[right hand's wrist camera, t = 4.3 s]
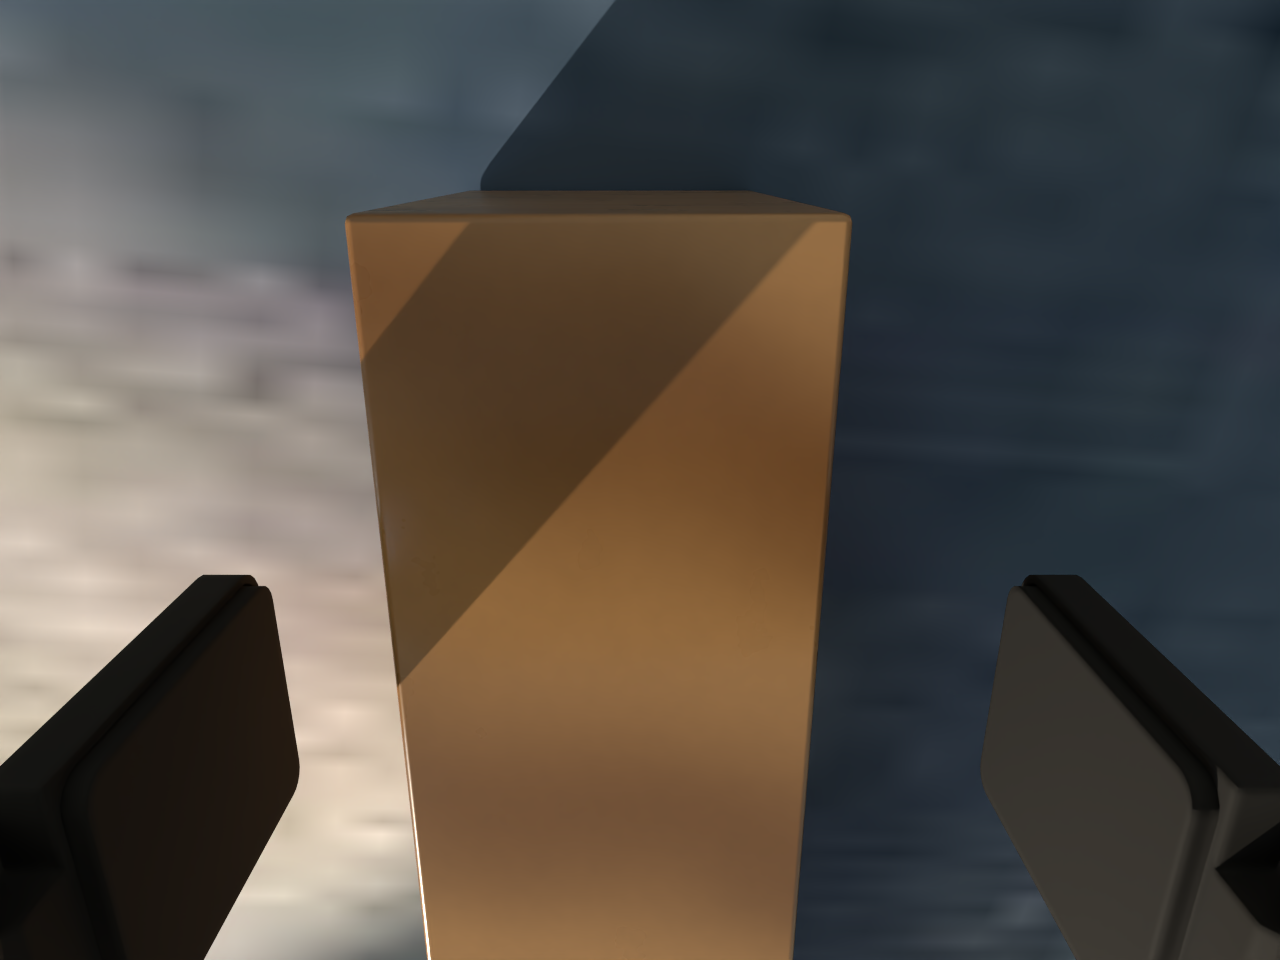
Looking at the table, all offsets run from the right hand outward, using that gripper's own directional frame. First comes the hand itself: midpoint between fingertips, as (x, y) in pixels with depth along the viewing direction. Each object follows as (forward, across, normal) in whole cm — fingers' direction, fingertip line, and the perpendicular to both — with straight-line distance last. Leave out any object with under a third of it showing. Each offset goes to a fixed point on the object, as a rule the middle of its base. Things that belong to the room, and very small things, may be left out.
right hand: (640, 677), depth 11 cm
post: (+6, 0, -25) cm, 25 cm away
